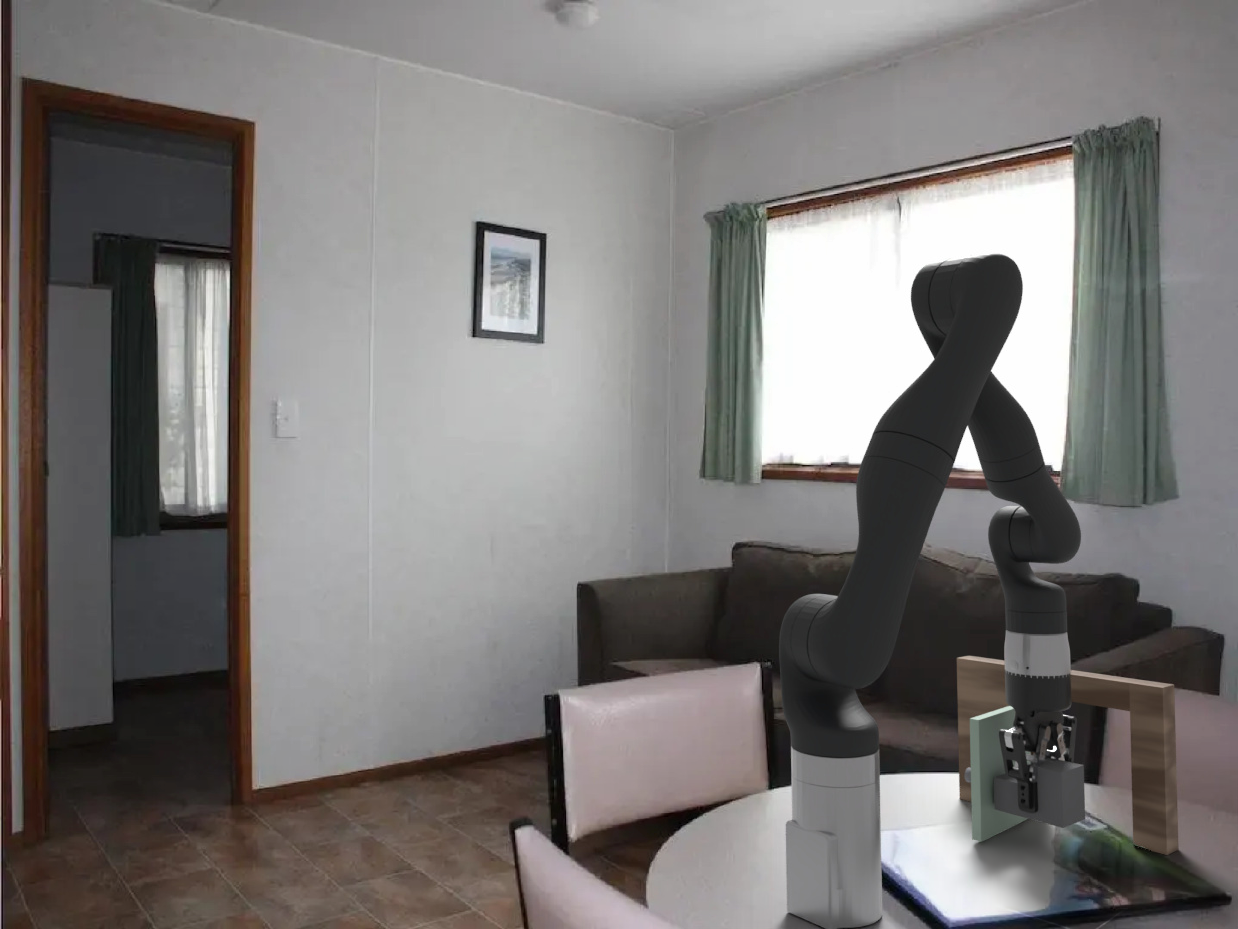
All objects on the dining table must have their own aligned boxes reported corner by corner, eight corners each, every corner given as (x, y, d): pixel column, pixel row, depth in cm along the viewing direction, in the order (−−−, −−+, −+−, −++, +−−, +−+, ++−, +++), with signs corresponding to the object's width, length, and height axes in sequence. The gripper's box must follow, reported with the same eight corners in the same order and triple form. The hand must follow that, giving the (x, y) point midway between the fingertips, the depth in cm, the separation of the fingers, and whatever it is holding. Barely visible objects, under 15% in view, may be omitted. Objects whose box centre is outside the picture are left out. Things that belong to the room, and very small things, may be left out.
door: (963, 837, 127) (960, 717, 127) (1014, 813, 136) (1012, 700, 136) (981, 842, 125) (978, 720, 125) (1032, 817, 134) (1029, 703, 134)
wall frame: (1167, 855, 121) (1162, 687, 121) (959, 798, 144) (956, 657, 144) (1178, 849, 123) (1174, 684, 123) (971, 794, 146) (969, 655, 146)
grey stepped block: (1063, 828, 119) (1061, 772, 119) (994, 809, 126) (993, 757, 126) (1085, 819, 122) (1083, 765, 122) (1017, 801, 129) (1015, 750, 129)
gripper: (1033, 679, 117) (1037, 827, 117) (1096, 664, 126) (1100, 802, 125) (976, 671, 123) (979, 811, 123) (1040, 657, 132) (1044, 788, 131)
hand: (1041, 806), depth 124 cm, fingers closed on grey stepped block, 5 cm apart
